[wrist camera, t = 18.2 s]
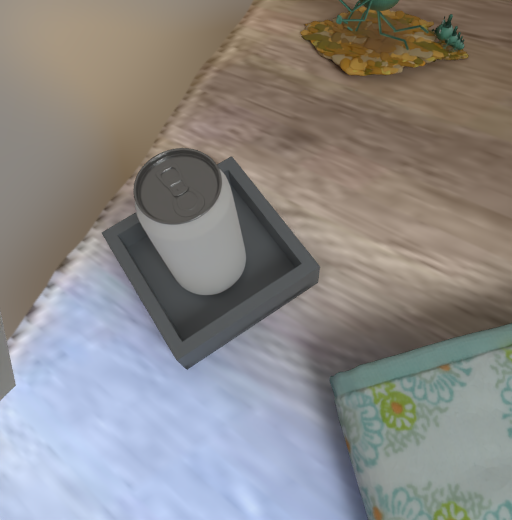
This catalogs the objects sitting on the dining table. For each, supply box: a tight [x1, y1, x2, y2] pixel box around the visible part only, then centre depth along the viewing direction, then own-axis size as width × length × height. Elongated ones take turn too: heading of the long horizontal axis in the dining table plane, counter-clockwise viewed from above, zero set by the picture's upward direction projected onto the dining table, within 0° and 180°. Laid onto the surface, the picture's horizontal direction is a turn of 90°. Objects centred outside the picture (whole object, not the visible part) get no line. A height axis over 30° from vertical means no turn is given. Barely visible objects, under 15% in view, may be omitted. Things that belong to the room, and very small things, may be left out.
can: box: [134, 148, 246, 295], centre depth 35 cm, size 6×6×12 cm
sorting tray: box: [102, 156, 320, 369], centre depth 40 cm, size 13×13×4 cm
